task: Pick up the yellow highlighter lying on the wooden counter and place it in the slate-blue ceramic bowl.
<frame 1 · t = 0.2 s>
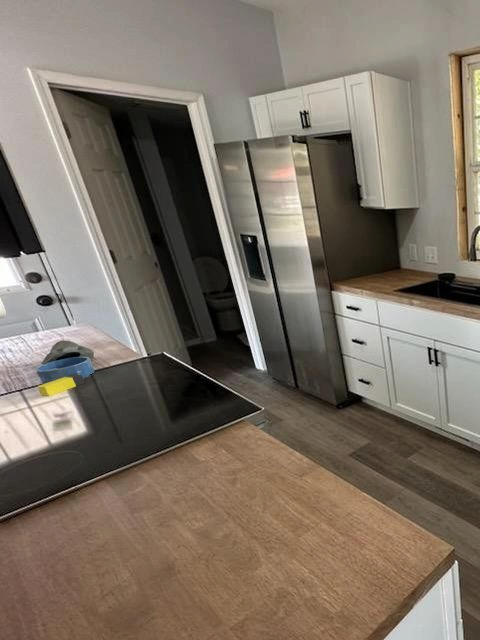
highlighter: (63, 389, 124), on the worktop
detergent: (71, 363, 146), on the worktop
bowl: (69, 377, 133), on the worktop
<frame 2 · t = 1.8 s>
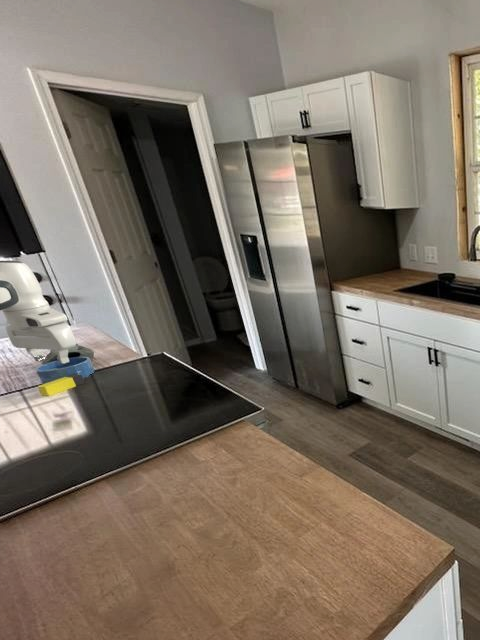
hand: (52, 361, 122), 9 cm above the worktop, tool pointing down, fingers open, 8 cm apart
nothing on the worktop moved.
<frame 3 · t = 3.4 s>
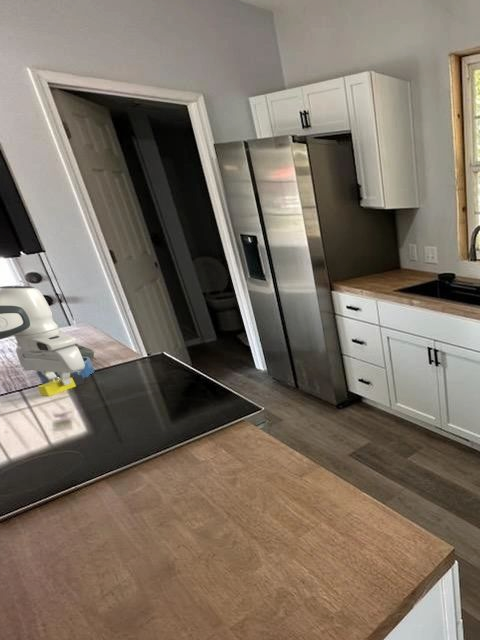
hand: (61, 383, 124), 2 cm above the worktop, tool pointing down, fingers closed on highlighter, 3 cm apart
highlighter: (63, 389, 124), on the worktop, touching gripper
everything else where it was.
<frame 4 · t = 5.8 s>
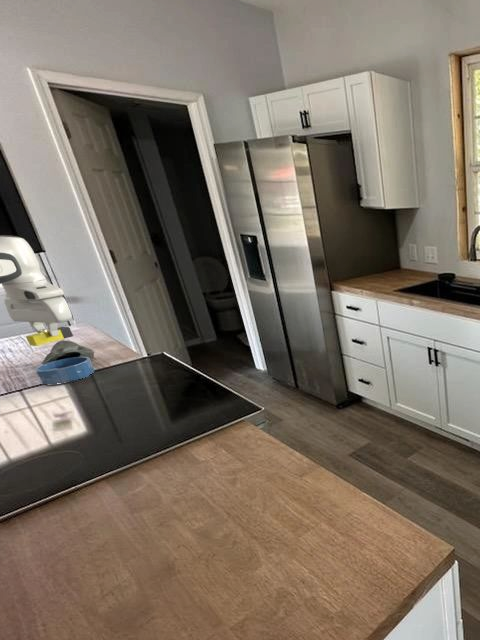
hand: (49, 335, 126), 15 cm above the worktop, tool pointing down, fingers closed on highlighter, 3 cm apart
highlighter: (52, 340, 127), point 13 cm above the worktop, touching gripper
everything else where it was.
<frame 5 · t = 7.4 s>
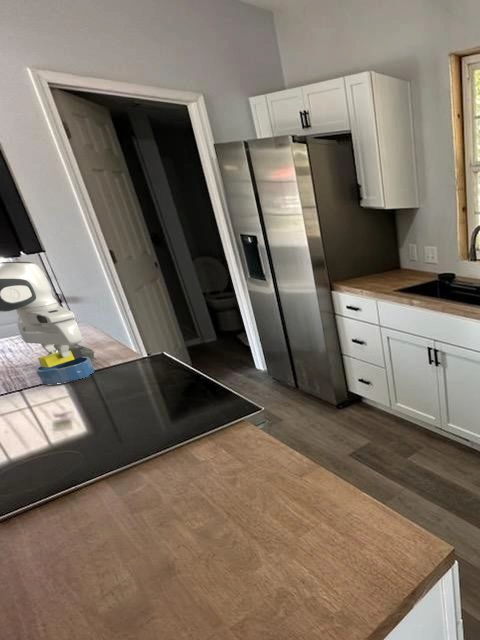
hand: (60, 356, 130), 7 cm above the worktop, tool pointing down, fingers closed on highlighter, 3 cm apart
highlighter: (63, 361, 131), point 6 cm above the worktop, touching gripper
everything else where it was.
when the fingers open (4 cm above the worktop, at t = 9.2 s): highlighter stays where it is, resting on bowl.
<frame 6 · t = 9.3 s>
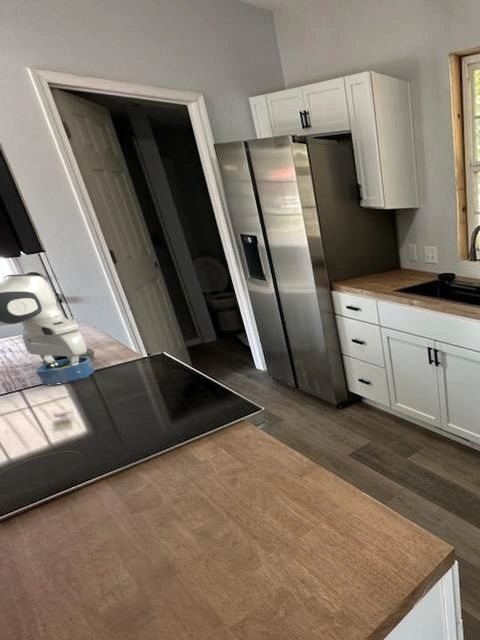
hand: (64, 367, 131), 4 cm above the worktop, tool pointing down, fingers open, 8 cm apart
highlighter: (69, 376, 133), point 1 cm above the worktop, touching bowl
everything else where it was.
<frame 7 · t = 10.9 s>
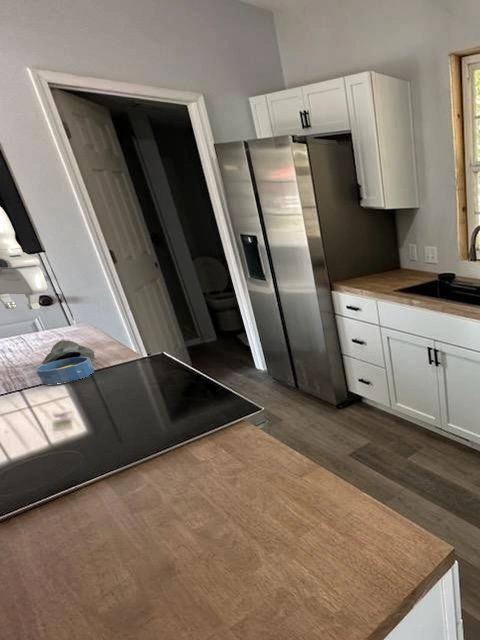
hand: (23, 308, 119), 24 cm above the worktop, tool pointing down, fingers open, 8 cm apart
nothing on the worktop moved.
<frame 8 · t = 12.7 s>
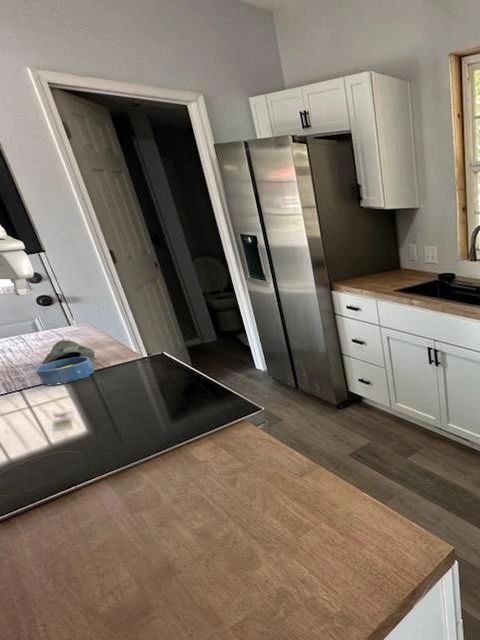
hand: (9, 294, 115), 29 cm above the worktop, tool pointing down, fingers open, 8 cm apart
nothing on the worktop moved.
at the end: highlighter inside the target area in the bowl (0.2 cm from its centre), point 0.6 cm above the bowl's base; the gripper is holding nothing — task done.
